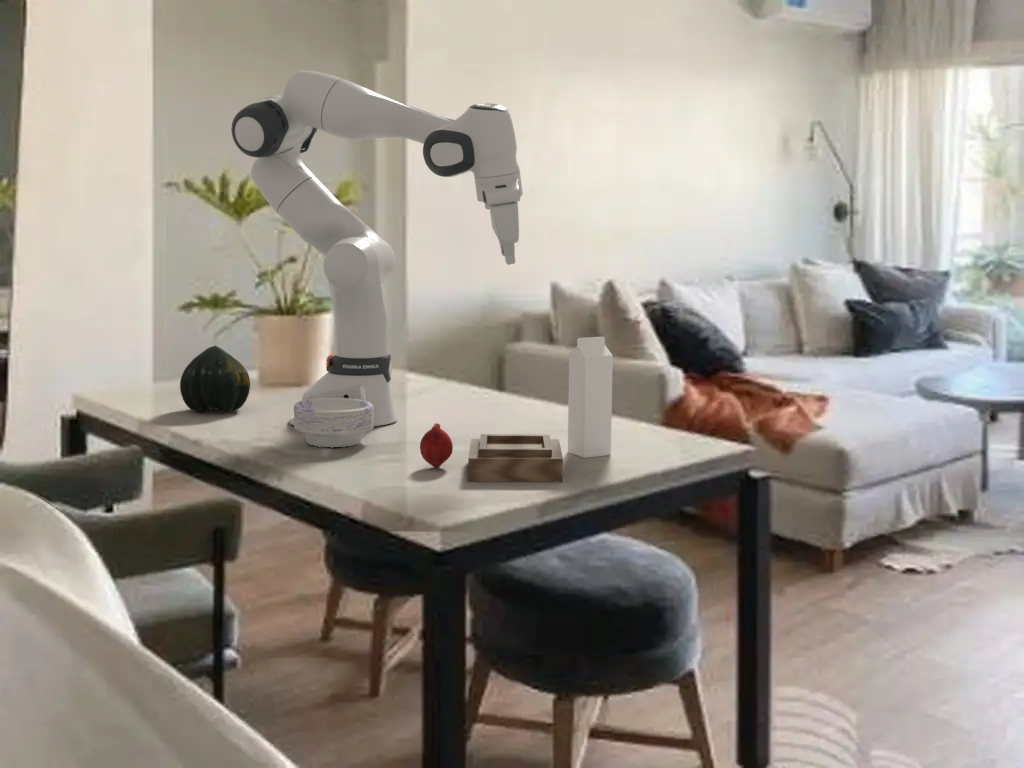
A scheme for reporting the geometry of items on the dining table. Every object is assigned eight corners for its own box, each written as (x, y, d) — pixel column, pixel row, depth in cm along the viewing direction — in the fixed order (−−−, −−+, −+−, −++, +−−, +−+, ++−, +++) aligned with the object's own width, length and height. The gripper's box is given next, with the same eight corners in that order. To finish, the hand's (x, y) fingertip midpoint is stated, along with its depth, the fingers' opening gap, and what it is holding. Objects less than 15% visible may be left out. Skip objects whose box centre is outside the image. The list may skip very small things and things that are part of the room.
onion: (447, 472, 208) (447, 427, 207) (416, 470, 209) (415, 425, 208) (456, 464, 214) (456, 421, 212) (425, 463, 215) (424, 419, 213)
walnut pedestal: (468, 481, 202) (468, 451, 201) (471, 460, 217) (471, 432, 216) (562, 481, 202) (563, 452, 201) (558, 460, 217) (558, 432, 217)
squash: (209, 396, 250) (238, 338, 258) (157, 392, 257) (186, 336, 265) (246, 431, 261) (272, 374, 268) (194, 427, 268) (221, 372, 275)
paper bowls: (387, 446, 229) (386, 405, 227) (313, 455, 221) (312, 413, 219) (353, 432, 241) (352, 393, 240) (282, 440, 233) (281, 400, 232)
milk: (567, 452, 225) (568, 336, 221) (594, 449, 227) (596, 334, 224) (584, 458, 219) (585, 339, 216) (611, 455, 222) (613, 338, 219)
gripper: (479, 185, 239) (488, 252, 243) (486, 197, 219) (496, 271, 223) (510, 180, 239) (519, 248, 243) (520, 192, 219) (529, 266, 223)
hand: (508, 259), depth 233 cm, fingers open, 8 cm apart
